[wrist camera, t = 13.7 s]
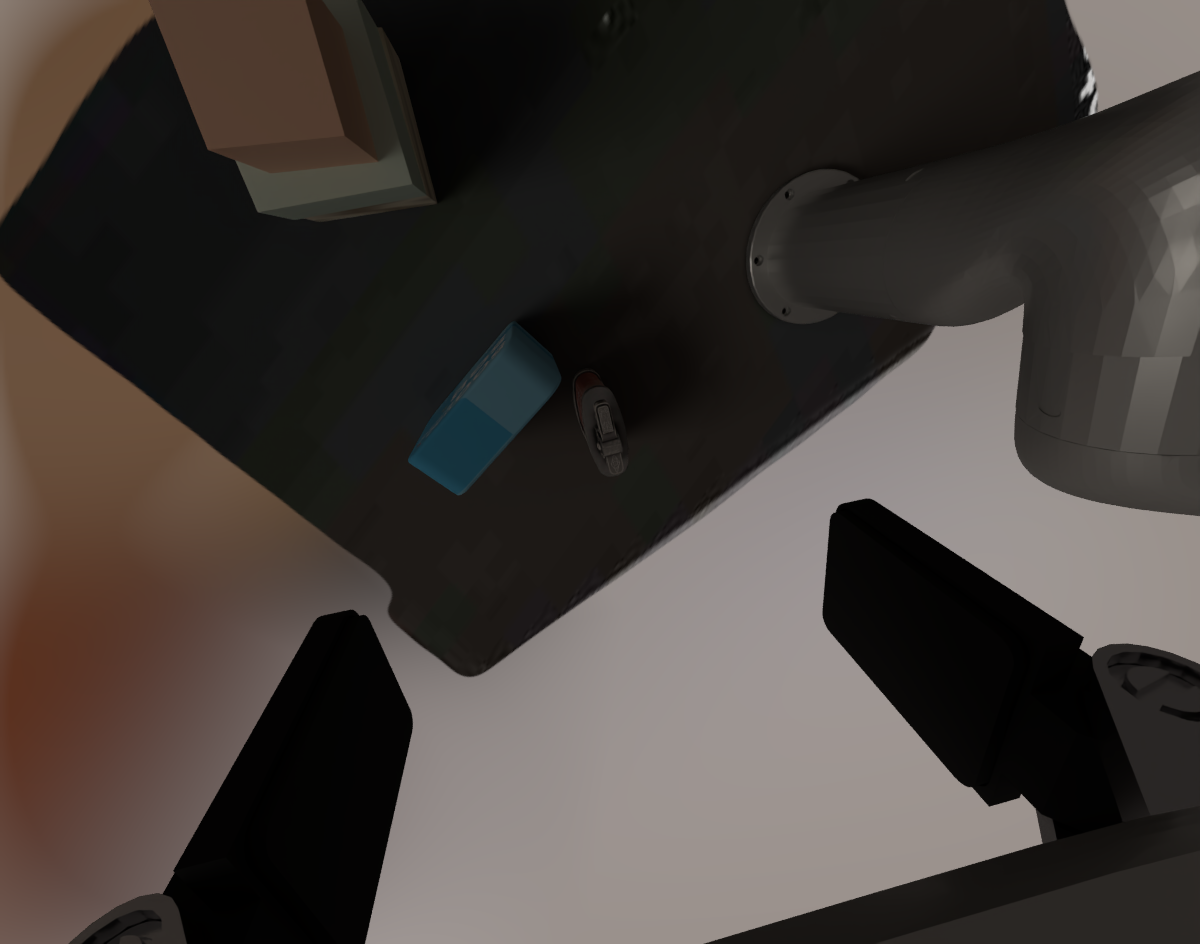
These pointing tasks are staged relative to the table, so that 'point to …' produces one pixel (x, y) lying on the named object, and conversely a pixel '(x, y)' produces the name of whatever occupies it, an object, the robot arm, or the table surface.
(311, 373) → the table surface
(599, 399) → the lighter
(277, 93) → the terracotta cube
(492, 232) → the table surface
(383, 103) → the sage block
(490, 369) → the data package
